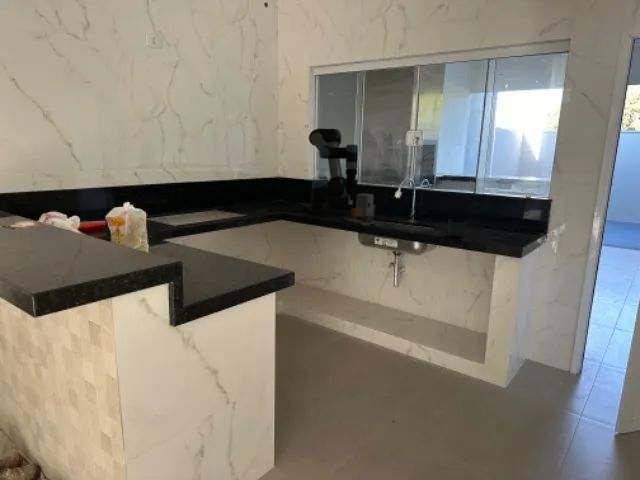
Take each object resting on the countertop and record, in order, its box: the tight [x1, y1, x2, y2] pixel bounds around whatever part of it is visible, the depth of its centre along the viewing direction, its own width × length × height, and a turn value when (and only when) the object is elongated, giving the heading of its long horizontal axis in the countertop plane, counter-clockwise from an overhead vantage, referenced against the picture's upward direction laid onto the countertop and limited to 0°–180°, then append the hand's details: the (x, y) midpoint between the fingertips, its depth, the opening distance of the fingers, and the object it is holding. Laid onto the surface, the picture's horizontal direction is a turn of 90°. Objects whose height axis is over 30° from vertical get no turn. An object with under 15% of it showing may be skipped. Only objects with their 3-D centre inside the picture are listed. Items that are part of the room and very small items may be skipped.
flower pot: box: [448, 219, 468, 236], centre depth 255 cm, size 9×9×9 cm
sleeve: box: [350, 207, 362, 219], centre depth 295 cm, size 4×6×6 cm, turn 122°
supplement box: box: [355, 193, 374, 218], centre depth 313 cm, size 9×9×15 cm
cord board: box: [344, 213, 379, 227], centre depth 291 cm, size 20×12×5 cm, turn 32°
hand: (350, 204), depth 300 cm, fingers closed
